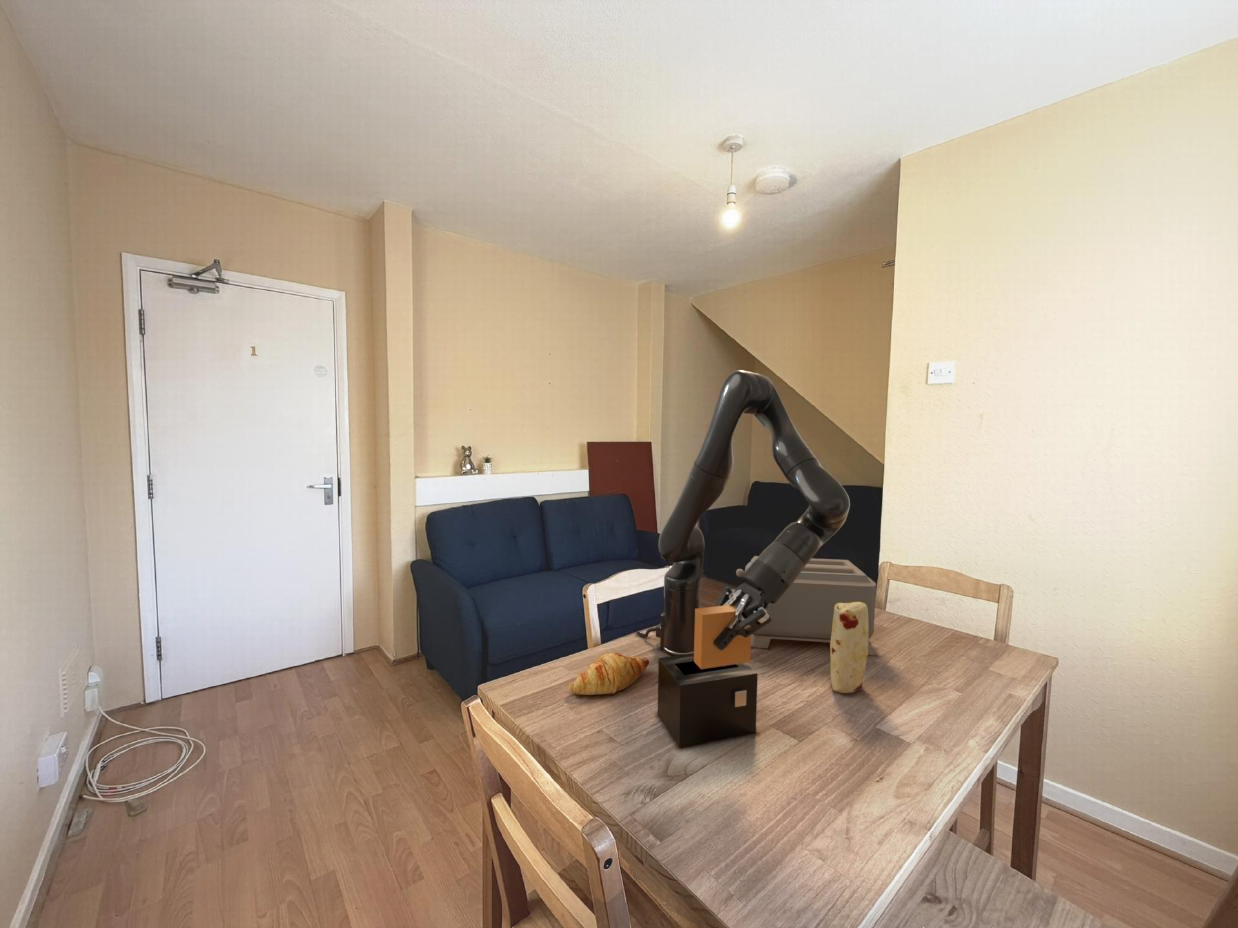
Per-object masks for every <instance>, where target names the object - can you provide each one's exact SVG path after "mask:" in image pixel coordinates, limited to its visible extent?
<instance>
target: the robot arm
mask: <svg viewBox="0 0 1238 928" xmlns="http://www.w3.org/2000/svg"><path fill="white" fill-rule="evenodd" d="M743 414H748V415H752V416H754V417H755V418H756V419H757V420H758V421H759V422H760V423H761V424H762V426H763V427H764V428H765V430H766V432H767V435H768V438H769V445H770V451H771V455H772V457H773V460H774V462H775V463H776V465H777V466H778V468H779V470H780V471H781V473H782V474H783V476H784V477H785V479H786V480H787V482H788V483H789V484H790V485H791V487H792V488H794V489H795V490H798V491H799V492H800V493H801V494H802V496H803V497H804V498H805V500H806V502H807V504H808V507H807V509H806V510H805V512H803V514H802V515H801V516H800V517H799V518H798V519H797V520H796V521H793V522H791V523H789V524H788V525H786V527H784V529H783V530H782V531H781V532H780V533H779V534H778V535H777V536H776V538H775V539H774V540H773V541H772V542H771V543H770V544H769V545H768V546H767V547H765V549H764V550H762V552H761V553H760V554H759V555H758V556H759V557H758V558H757V559H756V560H755V561H754V562H753V564H752V565H751V566H750V567H749V568H748V569H747V570H746V572H745V571H744V572H745V573H744V574H743V575H742V577H741V578H742V580H743V581H742V583H741V584H740V585H738V586H737V587H736V588H735V589H734V588H733V589H732V588H730V587H729V586H728V585H726V586H725V587H724V588H723V589H722V592H721V594H720V596H719V598H718V600H717V602H716V604H715V606H714V607H716V606H725V605H728V606H732V605H733V606H735V607H736V610H735V611H736V612H735V613H734V618H733V619H732V620H731V621H730V623H729V624H728V628H727V627H726V628H725V629H724V630H723V631H722V632H721V633H720V635H719V636H718V637H717V638H716V639H715V640H714V644H715V645H716V646H717V647H718V648H719V649H720V650H723V649H724V648H726V647H727V646H728V644H730V642H731V641H732V640H733V639H734V638H735V637H736V636H740V635H742V636H743V637H744V638H746V637H748V636H750V635H751V634H753V633H754V632H756V631H757V630H759V629H760V628H762V627H763V626H765V625H767V624H768V623H770V622H771V617H770V616H769V615H768V614H767V612H766V609H767V607H768V604H769V603H771V604H775V603H776V602H777V601H778V600H779V598H780V597H781V596H782V595H783V594H784V592H785V591H786V590H787V589H788V588H789V587H790V585H791V584H792V583H793V582H794V581H795V580H796V578H797V577H798V576H799V574H800V573H801V571H802V569H803V568H804V567H805V565H806V564H807V563H808V562H809V561H810V560H811V559H813V558H814V556H815V555H816V554H817V552H818V551H819V549H820V548H821V547H822V546H823V545H824V544H826V543H827V542H828V541H829V540H830V539H831V538H832V537H833V536H834V535H835V534H836V533H837V532H838V531H839V530H840V529H841V528H842V526H843V525H844V524H845V522H846V521H847V518H848V515H849V511H850V507H851V501H850V497H849V494H848V493H847V491H846V489H845V488H844V486H843V485H842V484H841V483H840V482H839V480H837V479H836V477H834V476H833V475H832V474H831V473H830V472H829V471H828V470H826V469H825V468H824V467H823V466H822V465H821V463H820V461H819V460H818V459H817V457H816V456H815V454H814V453H813V451H812V450H811V449H810V447H809V446H808V445H807V443H806V441H805V440H804V439H803V438H802V436H801V434H800V433H799V431H798V430H797V428H796V426H795V425H794V423H793V420H792V419H791V417H790V415H789V413H788V411H787V409H786V407H785V405H784V403H783V401H782V399H781V396H780V394H779V392H778V391H777V388H776V386H775V385H774V383H773V382H772V380H771V379H770V378H769V377H768V376H766V375H764V374H761V373H757V372H753V371H747V370H741V369H739V370H738V369H737V370H734V371H732V372H730V373H729V374H728V375H727V377H726V378H725V379H724V380H723V383H722V384H721V387H720V390H719V392H718V395H717V399H716V402H715V404H714V408H713V412H712V414H711V418H710V421H709V424H708V427H707V430H706V432H705V435H704V438H703V440H702V443H701V445H700V448H699V451H698V452H697V455H696V457H695V458H694V461H693V463H692V466H691V468H690V470H689V473H688V475H687V478H686V481H685V483H684V486H683V488H682V490H681V493H680V495H679V497H678V499H677V501H676V504H675V506H674V507H673V509H672V512H671V513H670V516H669V517H668V519H667V521H666V522H665V524H664V526H663V528H662V530H661V532H660V534H659V537H658V542H657V547H658V552H659V555H660V557H661V559H663V560H664V561H665V562H667V563H671V564H672V566H671V567H670V568H669V569H668V570H667V571H666V572H665V573H664V576H663V612H661V613H660V622H659V624H657V625H656V626H655V627H651V628H648V629H646V631H645V633H644V632H641V631H640V630H639V631H638V630H637V631H636V635H638V636H639V637H642V638H647V637H648V636H649V635H650V633H651V632H655V638H659V639H660V640H659V650H662V651H664V652H665V653H667V654H669V655H670V656H676V655H683V654H690V653H694V636H695V609H697V608H700V584H701V583H700V582H701V579H702V577H703V573H704V563H705V562H704V561H705V549H706V547H705V546H706V545H705V538H704V535H703V531H702V530H701V529H700V528H699V526H698V525H697V523H698V522H699V521H700V519H701V518H702V517H703V516H704V514H705V513H706V512H708V510H709V509H710V508H711V507H712V506H713V505H714V503H716V502H717V500H718V499H719V498H720V496H722V494H723V492H724V491H725V489H726V487H727V485H728V482H729V480H730V479H731V475H732V473H733V470H734V464H735V457H734V456H735V455H734V445H733V444H734V443H733V442H734V434H735V431H736V429H737V426H738V424H739V422H740V420H741V418H742V415H743ZM743 617H744V618H745V619H744V618H743ZM738 621H740V623H738ZM737 623H738V624H737ZM749 625H750V626H751V627H749V628H748V629H745V627H748V626H749ZM640 632H641V633H640Z"/></svg>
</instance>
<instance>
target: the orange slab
mask: <svg viewBox="0 0 1238 928" xmlns="http://www.w3.org/2000/svg"><path fill="white" fill-rule="evenodd" d="M715 606H716V605H715ZM715 606H708V607H707V606H706V607H699V608H697V609H695V636H694V662H695V663H696V664H697V665H698V666H699V668H700V669H706V668H713V667H720V666H727V665H733V664H740V663H746V664H748V663H751V657H752V655H751V654H752V646H751V635H750V636H748V637H746V638H744V637H743V636H742V635H740V636H736V637H735V638H734V639H733V640H732V641H731V642H730V644H728V646H727V647H726V648H724V649H723V650H720V649H719V648H718V647H717V646H716V645H715V644H714V640H715V639H716V638H717V637H718V636H719V635H720V633H721V632H722V631H723V630H724V629H725V628H726V627H727V628H728V624H729V623H730V621H731V620H732V619H733V618H734V613H735V612H736V611H735V610H736V607H735V606H733V605H732V606H728V605H725V606H723V605H722V606H716V607H715ZM743 618H744V617H743ZM744 619H745V618H744ZM738 623H740V621H738ZM738 623H737V624H738ZM749 627H751V626H750V625H749V626H748V627H745V629H748V628H749Z"/></svg>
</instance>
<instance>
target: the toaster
mask: <svg viewBox="0 0 1238 928" xmlns="http://www.w3.org/2000/svg"><path fill="white" fill-rule="evenodd" d="M758 557H759V555H754V556H753V557H752V558H751V560H750V561H749V562H748V563H747V564H746V565H745V568H744V570H743V569H742V568H737V569H736V571H735V575H736V576H737V577H738V578H742V575H743V574H744V573H745V572H746V570H747V569H748V568H749V567H750V566H751V565H752V564H753V562H754V561H755V560H756V559H757V558H758ZM876 592H877V584H876V581H874V580H873V579H872V578H870V577H869V576H867V575H866V573H864V572H863V571H862V570H861V569H859V567H857V566H856V565H855V564H854V563H852V562H851V561H850V560H849V559H832V558H831V559H830V558H811V560H810V561H809V562H808V563H807V564H806V565H805V567H804V568H803V569H802V571H801V573H800V574H799V576H798V577H797V578H796V580H795V581H794V582H793V583H792V584H791V585H790V587H789V588H788V589H787V590H786V591H785V592H784V594H783V595H782V596H781V597H780V598H779V600H778V601H777V602H776V603H775V604H771V603H769V604H768V607H767V609H766V612H767V614H768V615H769V616H770V617H771V622H770V623H768V624H767V625H765V626H763V627H762V628H760V629H759V630H757V631H756V632H754V633H753V634H751V648H757V649H768V648H769V646H770V642H771V640H784V641H786V640H787V641H801V642H817V643H830V642H831V634H832V625H833V616H834V607H835V605H836V604H837V603H852V602H862V603H865V604H866V606H867V608H868V624H869V632H868V656H876V653H875V651H874V648H873V645H872V642H871V641H870V639H872V636H873V635H874V632H875V615H876V614H875V610H876V595H877V593H876Z"/></svg>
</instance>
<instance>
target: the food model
mask: <svg viewBox="0 0 1238 928" xmlns="http://www.w3.org/2000/svg"><path fill="white" fill-rule="evenodd" d="M868 632H869V624H868V608H867V606H866V604H865V603H862V602H852V603H837V604H836V605H835V607H834V616H833V625H832V634H831V642H829V645H830V646H829V653H830V657H829V658H830V659H829V660H830V662H829V663H830V664H829V665H830V682H831V687H832V689H833V691H834V692H838V693H841V694H849V693H850V694H851V693H855V692H858V691H859V690H861V689H862V688H863V683H864V678H865V672H866V667H867V661H868V656H869V655H868Z"/></svg>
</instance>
